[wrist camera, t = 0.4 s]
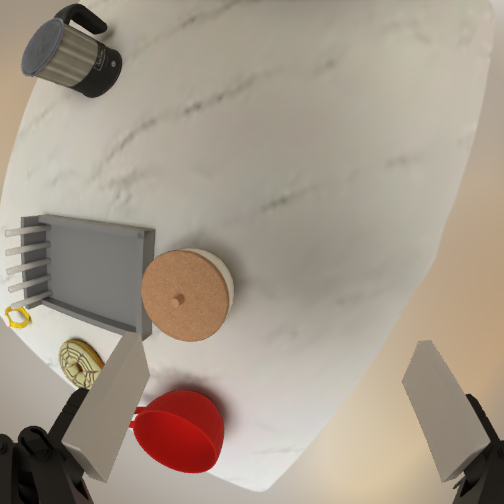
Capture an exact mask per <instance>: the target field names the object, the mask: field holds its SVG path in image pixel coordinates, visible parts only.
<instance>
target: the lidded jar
mask: <svg viewBox="0 0 504 504" xmlns="http://www.w3.org/2000/svg"><path fill="white" fill-rule="evenodd" d="M141 295H142V301H143V304H144V307H145V310H146V312H147V314H148V316H149V317H150V319H151V320H152V322H153V323H154V324H155V325H156V326H157V327H158V328H159V329H160V330H161V331H162V332H164V333H165V334H167V335H169V336H170V337H172V338H175V339H177V340H181V341H188V342H193V341H200V340H204V339H206V338H208V337H210V336H211V335H213V334H214V333H215V332H216V331H217V330H218V329H219V328H220V327H221V325H222V324H223V322H224V321H225V319H226V317H227V315H228V313H229V311H230V309H231V306H232V303H233V299H234V284H233V279H232V276H231V274H230V272H229V270H228V268H227V267H226V265H225V264H224V263H223V262H222V261H221V260H220V259H219V258H218V257H216V256H215V255H214V254H212V253H210V252H208V251H204V250H201V249H195V248H185V249H179V250H173V251H169V252H166V253H164V254H161V255H160V256H158V257H156V258H155V259H154V260H153V261H152V262H151V263H150V264H149V266H148V267H147V269H146V271H145V273H144V276H143V279H142V285H141Z"/></svg>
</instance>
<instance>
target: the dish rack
mask: <svg viewBox="0 0 504 504" xmlns="http://www.w3.org/2000/svg"><path fill="white" fill-rule="evenodd" d="M15 235H21V247H17V248H13V249H8V250H6V256H10V255H15V254H19V253H21V261H22V265H19V266H16V267H12V268H8V269H7V274H8V275H10V274H14V273H17V272H21V271H22V277H23V283H20V284H17V285H13V286H10V287H8V290H9V292H10V293H12V292H15V291H18V290H21V289H24V298H25V299H24V300H22V301H19V302H16V303H14V304H11V309H12V310H15V309H18V308H20V307H23V306H26V308H27V309H31V308H34V307H36V306H39V305H41V304H42V305H45V306H47V307H49V308H52V309H54V310H56V311H59V312H61V313H64V314H66V315H69V316H71V317H74V318H76V319H79V320H81V321H84V322H86V323H89V324H92V325H94V326H97V327H100V328H103V329H105V330H108V331H111V332H114V333H117V334H120V335H124V333H125V332H126V331H127V332H134V333H140V334H141V338H142V341H144V340H145V339H146V338H147V337H149V336H150V335H151V334H152V320H151V319H150V317H149V316H148V314H147V312H146V310H145V307H144V304H143V301H142V295H141V285H142V279H143V276H144V273H145V271H146V269H147V267H148V266H149V264H150V263H151V262H152V261H153V256H154V239H155V230H154V229H147V228H140V227H133V226H126V225H119V224H112V223H105V222H97V221H90V220H83V219H76V218H69V217H61V216H54V215H38V216H28V217H21V228H19V229H12V230H6V231H5V236H6V237H9V236H15Z"/></svg>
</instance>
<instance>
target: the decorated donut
mask: <svg viewBox="0 0 504 504" xmlns="http://www.w3.org/2000/svg"><path fill="white" fill-rule="evenodd" d="M59 363H60V365H61V368H62V370H63V372H64V374H65V375H66V377H67V378H68V379H69V380H70V381H71V382H72V383H73V384H74V385H75V386H77V387H78V388H80V387H82V388H86V389H89V390H90V389H91V387H92V385H93V384H94V382H95V380H96V379H97V377H98V375H99V374H100V372H101V370H102V369H103V367H104V365H103V363H102V362H101V359H100V358H99V357H98V356H97V355H96V353H95V352H94V351H93V349H91V348H90V346H88V344H85V343H84V342H81V341H77V340H68V341H66V342H64V344H63V345H62V346H61V347H60V351H59Z"/></svg>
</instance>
